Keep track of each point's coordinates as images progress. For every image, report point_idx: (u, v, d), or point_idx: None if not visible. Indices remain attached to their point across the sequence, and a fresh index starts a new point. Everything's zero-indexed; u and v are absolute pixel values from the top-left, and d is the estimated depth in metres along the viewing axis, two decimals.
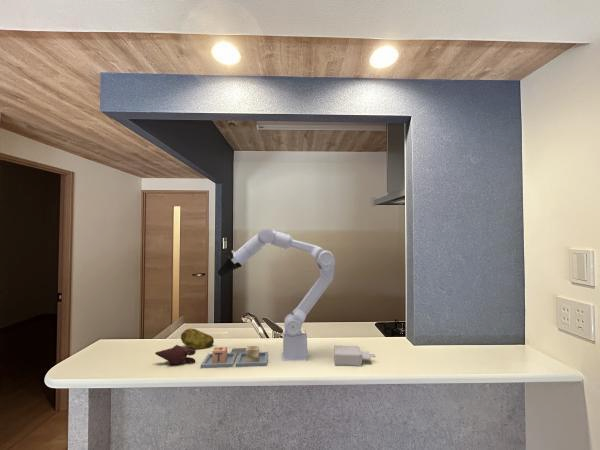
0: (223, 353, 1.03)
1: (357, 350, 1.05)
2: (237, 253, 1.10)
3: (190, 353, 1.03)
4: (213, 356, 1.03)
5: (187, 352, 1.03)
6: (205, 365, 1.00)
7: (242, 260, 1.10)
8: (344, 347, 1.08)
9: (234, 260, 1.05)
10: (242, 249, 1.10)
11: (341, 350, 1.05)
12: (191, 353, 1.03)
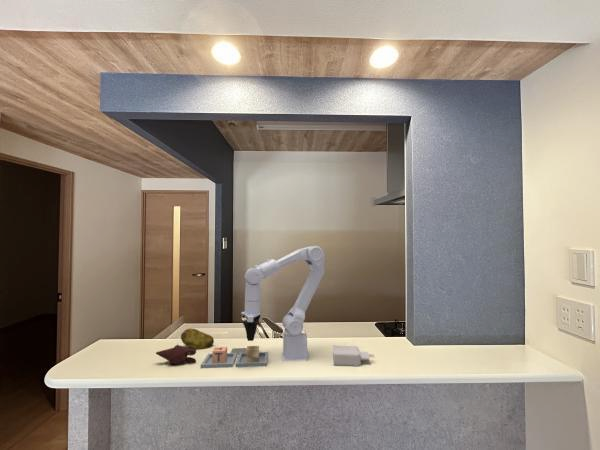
0: (223, 353, 1.03)
1: (356, 350, 1.05)
2: (247, 311, 1.05)
3: (191, 353, 1.03)
4: (213, 356, 1.03)
5: (188, 352, 1.03)
6: (205, 365, 1.00)
7: (256, 312, 1.06)
8: (343, 347, 1.08)
9: (250, 319, 1.00)
10: (247, 304, 1.06)
11: (340, 350, 1.05)
12: (192, 353, 1.03)
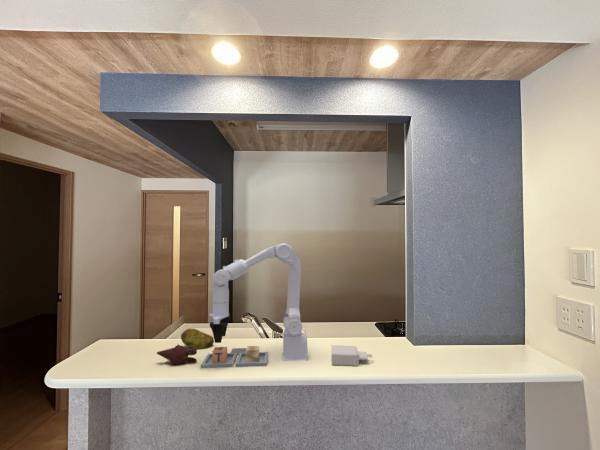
0: (223, 353, 1.03)
1: (354, 350, 1.05)
2: (214, 313, 1.04)
3: (191, 353, 1.03)
4: (213, 356, 1.03)
5: (188, 352, 1.03)
6: (205, 365, 1.00)
7: (223, 313, 1.05)
8: (341, 347, 1.08)
9: (216, 321, 0.99)
10: (215, 306, 1.05)
11: (338, 350, 1.05)
12: (192, 353, 1.03)
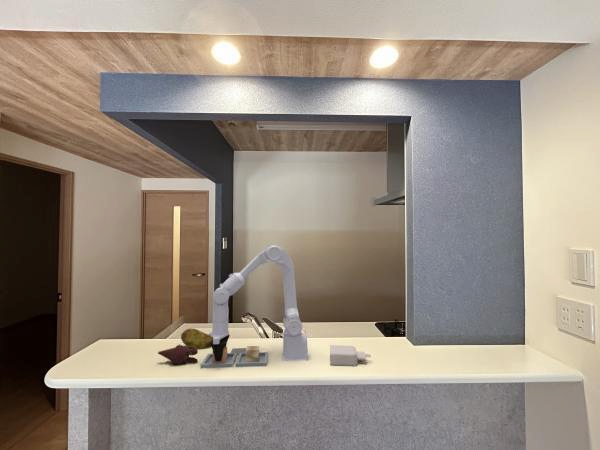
0: (223, 353, 1.03)
1: (352, 350, 1.05)
2: (214, 332, 1.04)
3: (192, 353, 1.03)
4: (213, 356, 1.03)
5: (189, 352, 1.04)
6: (205, 365, 1.00)
7: (223, 332, 1.04)
8: (340, 347, 1.08)
9: (216, 341, 0.99)
10: (214, 325, 1.04)
11: (336, 350, 1.05)
12: (193, 353, 1.03)
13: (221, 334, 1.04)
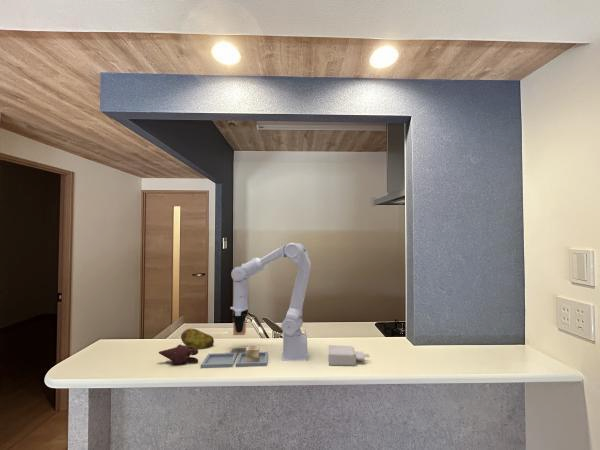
0: (243, 325, 1.14)
1: (351, 350, 1.05)
2: (235, 306, 1.15)
3: (193, 353, 1.03)
4: (234, 328, 1.14)
5: (190, 352, 1.04)
6: (205, 365, 1.00)
7: (243, 306, 1.15)
8: (338, 347, 1.08)
9: (237, 313, 1.10)
10: (235, 300, 1.15)
11: (335, 350, 1.05)
12: (194, 353, 1.03)
13: (241, 308, 1.14)
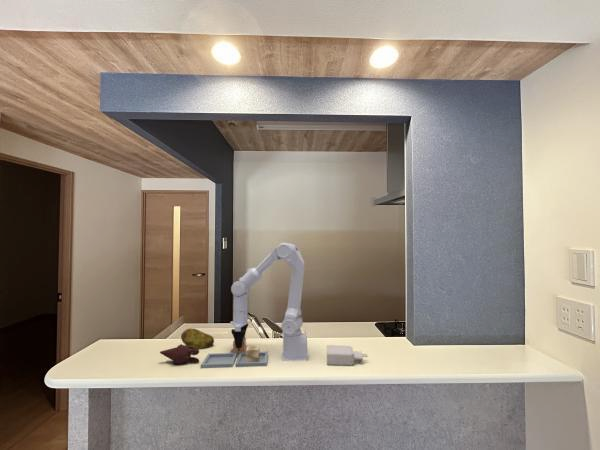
0: (243, 343, 1.14)
1: (349, 350, 1.05)
2: (235, 321, 1.14)
3: (194, 353, 1.04)
4: (234, 346, 1.14)
5: (191, 352, 1.04)
6: (205, 365, 1.00)
7: (243, 321, 1.15)
8: (336, 347, 1.08)
9: (237, 329, 1.09)
10: (235, 314, 1.15)
11: (333, 350, 1.05)
12: (195, 353, 1.04)
13: (241, 323, 1.14)
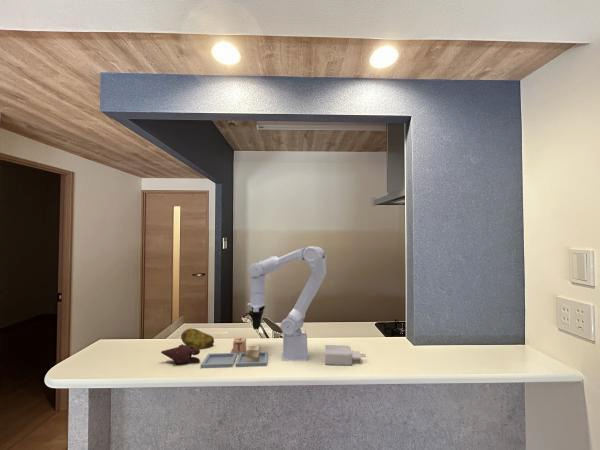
0: (243, 343, 1.14)
1: (347, 350, 1.05)
2: (252, 302, 1.15)
3: (194, 353, 1.04)
4: (234, 346, 1.14)
5: (191, 352, 1.04)
6: (205, 365, 1.00)
7: (261, 303, 1.15)
8: (335, 347, 1.08)
9: (255, 309, 1.10)
10: (253, 296, 1.15)
11: (331, 350, 1.05)
12: (195, 353, 1.04)
13: (259, 304, 1.14)
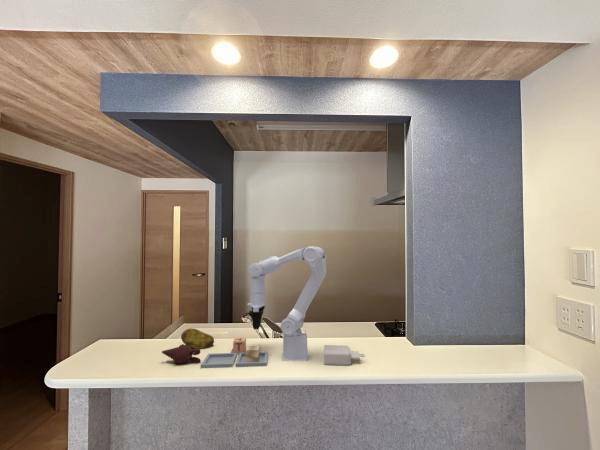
0: (243, 343, 1.14)
1: (346, 350, 1.05)
2: (252, 302, 1.15)
3: (195, 353, 1.04)
4: (234, 346, 1.14)
5: (192, 352, 1.04)
6: (205, 365, 1.00)
7: (261, 303, 1.15)
8: (334, 347, 1.08)
9: (255, 309, 1.10)
10: (253, 296, 1.15)
11: (330, 350, 1.05)
12: (196, 353, 1.04)
13: (259, 304, 1.14)
